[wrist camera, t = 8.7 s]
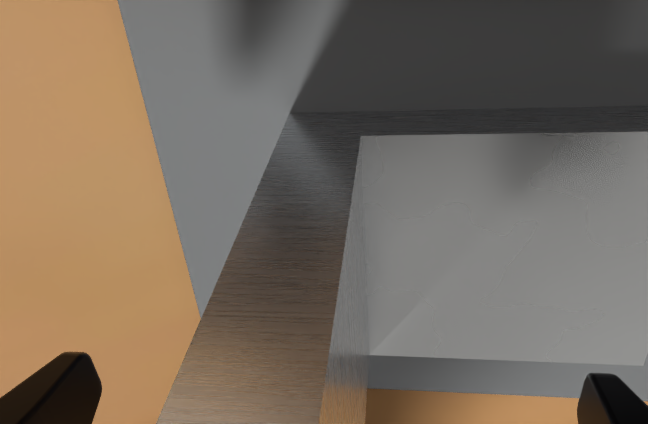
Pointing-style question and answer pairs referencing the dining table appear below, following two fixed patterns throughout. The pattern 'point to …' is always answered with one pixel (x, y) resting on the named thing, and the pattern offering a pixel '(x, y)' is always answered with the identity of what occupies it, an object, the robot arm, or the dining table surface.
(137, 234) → the dining table surface
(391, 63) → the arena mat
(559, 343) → the bracket
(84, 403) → the robot arm
